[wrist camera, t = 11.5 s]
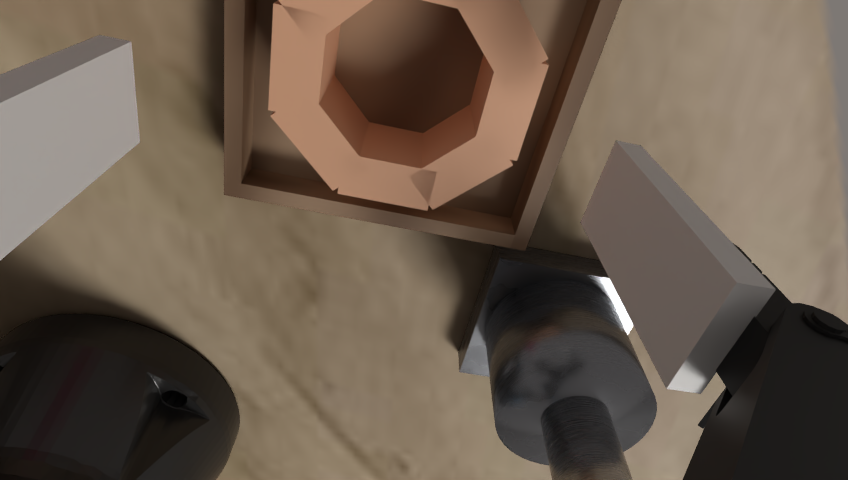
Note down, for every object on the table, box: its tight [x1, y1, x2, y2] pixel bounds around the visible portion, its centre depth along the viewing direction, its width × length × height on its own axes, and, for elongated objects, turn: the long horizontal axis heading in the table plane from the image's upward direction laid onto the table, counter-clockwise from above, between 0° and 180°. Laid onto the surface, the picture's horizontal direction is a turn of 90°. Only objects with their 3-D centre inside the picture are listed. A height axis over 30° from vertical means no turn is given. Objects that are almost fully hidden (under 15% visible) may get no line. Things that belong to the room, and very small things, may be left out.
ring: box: [268, 0, 549, 211], centre depth 19 cm, size 9×9×4 cm
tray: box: [224, 0, 622, 251], centre depth 20 cm, size 13×13×2 cm
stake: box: [458, 245, 657, 480], centre depth 22 cm, size 8×8×16 cm
